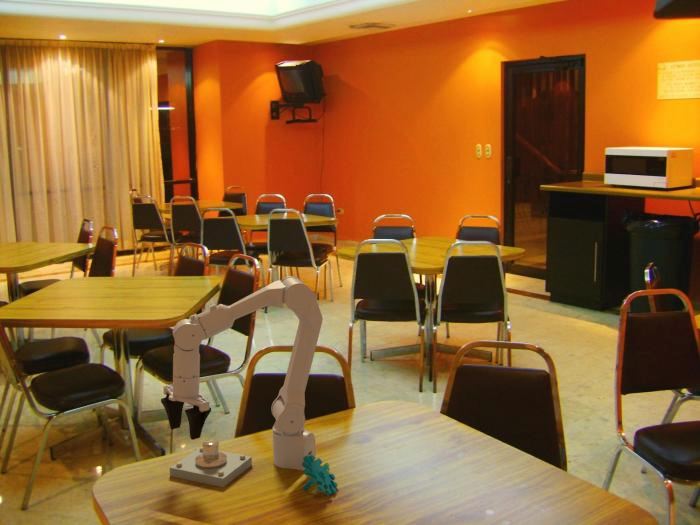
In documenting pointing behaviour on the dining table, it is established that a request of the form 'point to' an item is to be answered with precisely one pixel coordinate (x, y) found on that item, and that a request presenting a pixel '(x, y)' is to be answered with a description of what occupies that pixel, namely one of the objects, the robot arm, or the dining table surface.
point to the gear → (319, 475)
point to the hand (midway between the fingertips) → (185, 433)
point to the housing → (211, 476)
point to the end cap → (211, 456)
